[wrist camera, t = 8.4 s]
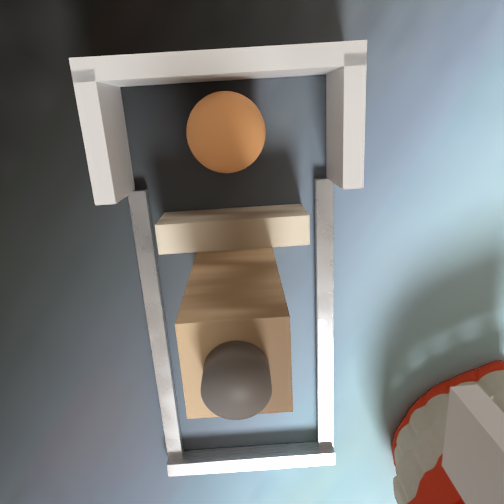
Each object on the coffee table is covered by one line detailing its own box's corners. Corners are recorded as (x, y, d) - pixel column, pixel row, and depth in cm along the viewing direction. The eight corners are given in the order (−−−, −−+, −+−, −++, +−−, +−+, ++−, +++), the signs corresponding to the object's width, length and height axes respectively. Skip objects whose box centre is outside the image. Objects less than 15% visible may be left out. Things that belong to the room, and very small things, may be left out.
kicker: (175, 299, 26) (126, 446, 15) (164, 212, 24) (98, 300, 13) (302, 291, 26) (353, 430, 15) (301, 203, 25) (356, 283, 13)
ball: (185, 88, 22) (194, 163, 24) (177, 99, 19) (188, 186, 20) (261, 84, 22) (264, 158, 24) (266, 94, 19) (269, 180, 20)
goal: (117, 190, 24) (95, 205, 20) (98, 67, 22) (68, 57, 18) (343, 176, 24) (363, 188, 20) (345, 52, 22) (367, 40, 18)
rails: (171, 462, 30) (168, 476, 29) (130, 190, 24) (124, 193, 23) (331, 451, 30) (334, 464, 29) (331, 177, 24) (336, 180, 23)
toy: (355, 394, 29) (396, 494, 21) (503, 348, 28) (600, 434, 21) (397, 520, 33) (444, 643, 25) (528, 483, 32) (618, 597, 24)
